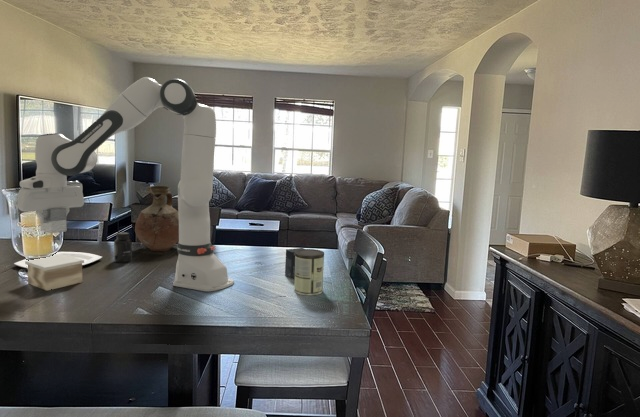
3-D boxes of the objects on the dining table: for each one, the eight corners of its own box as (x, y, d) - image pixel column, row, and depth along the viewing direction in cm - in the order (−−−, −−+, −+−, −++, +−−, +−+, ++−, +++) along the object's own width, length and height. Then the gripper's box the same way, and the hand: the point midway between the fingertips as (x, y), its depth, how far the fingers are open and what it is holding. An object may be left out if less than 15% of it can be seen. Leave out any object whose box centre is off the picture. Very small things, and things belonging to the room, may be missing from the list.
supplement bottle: (127, 263, 180) (127, 235, 179) (111, 262, 181) (110, 234, 179) (134, 259, 187) (134, 232, 186) (119, 258, 187) (118, 231, 186)
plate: (112, 260, 186) (111, 255, 186) (59, 277, 160) (58, 272, 160) (61, 254, 193) (60, 249, 193) (2, 269, 167) (2, 264, 167)
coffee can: (299, 285, 161) (300, 247, 159) (326, 288, 158) (327, 250, 156) (289, 293, 151) (290, 253, 149) (317, 297, 148) (319, 256, 146)
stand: (84, 282, 154) (84, 260, 153) (45, 291, 143) (44, 267, 142) (64, 275, 161) (63, 254, 160) (26, 283, 150) (24, 261, 149)
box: (291, 278, 168) (292, 252, 167) (284, 275, 173) (285, 249, 171) (309, 276, 172) (310, 250, 171) (301, 272, 177) (302, 247, 176)
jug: (126, 253, 197) (125, 187, 194) (147, 243, 219) (146, 183, 215) (174, 255, 197) (173, 189, 193) (189, 245, 218) (189, 185, 214)
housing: (55, 228, 154) (55, 206, 153) (66, 231, 150) (65, 208, 149) (40, 230, 150) (39, 207, 148) (51, 233, 146) (50, 209, 145)
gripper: (77, 180, 158) (78, 217, 160) (14, 182, 141) (16, 224, 143) (87, 181, 155) (88, 219, 157) (23, 183, 137) (25, 226, 139)
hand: (53, 222), depth 149 cm, fingers closed on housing, 5 cm apart
